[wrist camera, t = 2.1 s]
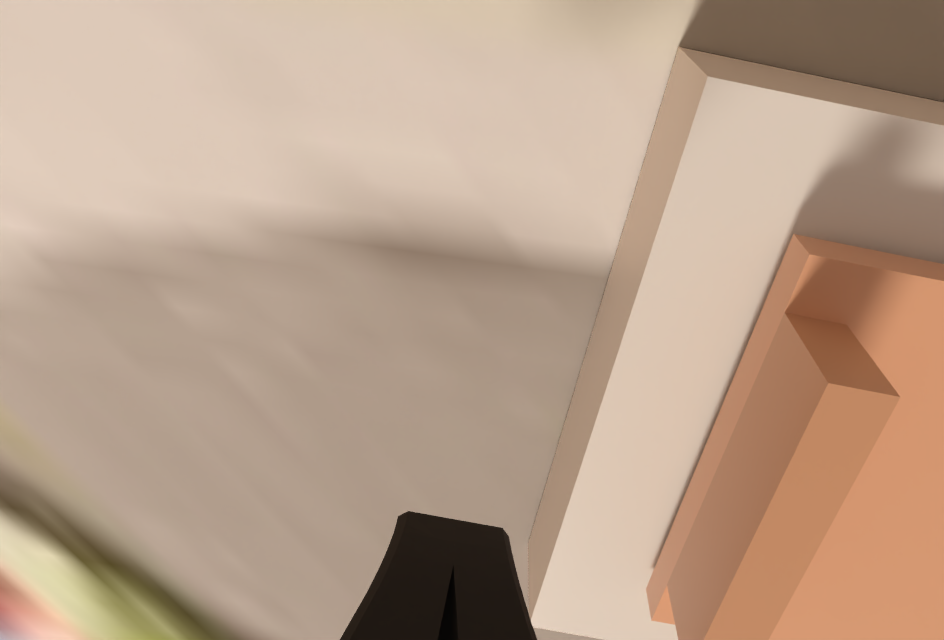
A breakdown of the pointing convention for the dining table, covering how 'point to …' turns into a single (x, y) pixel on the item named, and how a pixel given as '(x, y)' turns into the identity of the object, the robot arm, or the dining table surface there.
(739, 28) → the dining table surface
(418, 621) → the robot arm
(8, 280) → the dining table surface
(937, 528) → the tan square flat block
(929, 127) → the socket
